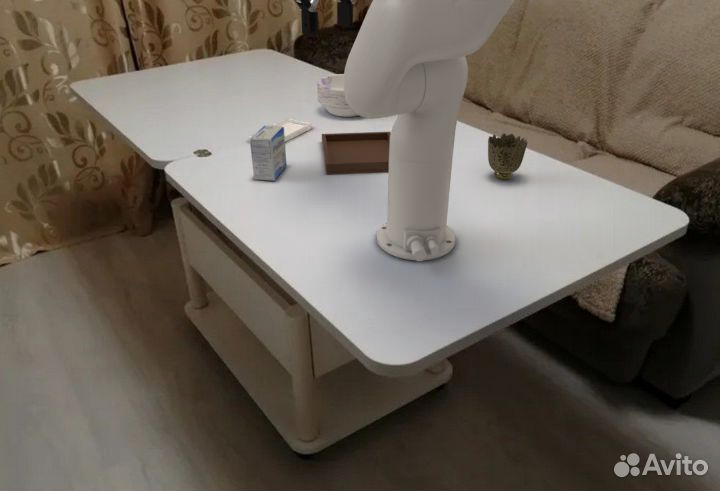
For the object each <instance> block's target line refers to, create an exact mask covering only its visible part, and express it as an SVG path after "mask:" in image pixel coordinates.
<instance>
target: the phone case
mask: <svg viewBox="0 0 720 491" xmlns="http://www.w3.org/2000/svg"><path fill="white" fill-rule="evenodd" d="M294 122H298V123H294ZM300 123H302V124H300ZM303 124H305V125H303ZM270 126H281V127H284V136H285V143H286V142H287V141H290V140H292V139H293V138H296V137H298V136H300V135H301V134H304V133H306V132H308V131H310V130H312V123H311V122H308V121H303V120H298V119H294V118H285V119H282V120H281V121H279V122H276V123H273V124H271V125H270ZM257 132H258V131H256V132H254V133H252V134H249V135H248V141H249V143H250V139H251V138H252V137H253V136H254V135H255V134H256V133H257Z"/></svg>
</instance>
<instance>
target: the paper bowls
mask: <svg viewBox="0 0 720 491" xmlns="http://www.w3.org/2000/svg"><path fill="white" fill-rule="evenodd" d="M343 79H344V73H338V74H337V73H336V74H329V75H326V76H322V77H320V78H319V79H318V80H317V83H316V87H317V88H316V91H317V92H316V93H317V94H316V95H317V101H318V102H319V104H321V105H323V106H324V107H325V108H326V110H327V112H328V113H330V114H331V115H334V116H338V117H343V118H345V117H346V118H347V117H348V118H349V117H350V118H351V117H357V116H359V115H358V114H356V113H355V112H354V111H353V110H352V109H351V108H350V106H349V105H348V103H347V100H346V98H345V94H344V87H343Z"/></svg>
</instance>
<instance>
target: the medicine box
mask: <svg viewBox="0 0 720 491" xmlns="http://www.w3.org/2000/svg"><path fill="white" fill-rule="evenodd" d="M256 132H257V133H256ZM256 132H255V133H256V134H255V135H254V136H253V137H252V138H251V139H250V142H249V145H250V146H249V147H250V154H251V164H252V172H253V173H252V174H253V179H254V180H259V181H268V182H269V181H272V182H275V181H276V180H277V179H278V178H279V176H280V175H281V174H282V172H283V170H285V168H286V167H287V152H286V142H285V136H284V127H281V126H271V125H264V126H262V127H261V128H260V129H259V130H258V131H256Z"/></svg>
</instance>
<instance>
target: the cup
mask: <svg viewBox="0 0 720 491" xmlns="http://www.w3.org/2000/svg"><path fill="white" fill-rule="evenodd" d="M528 143H529V142H528V141H527V139H526V138H525V137H523V138H521V136H520V135H519V136H517V137H516V135H515V134H513V133H509V134H506V133H505V132H503V133H501V135H500V136H499V137H498V136H497V135H496V134H493V135H492V136H490V135H489V136H488V139H487V161H488V164H489V167H490V168H491V169H492V170H493V177H494V178H495V179H497V180H498V181H509V180H512V177H513V173H515V172H516V171H518V170H519V169H520V167H521V166H522V163H523V160H524V157H525V154H526V150H527V146H528Z"/></svg>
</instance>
